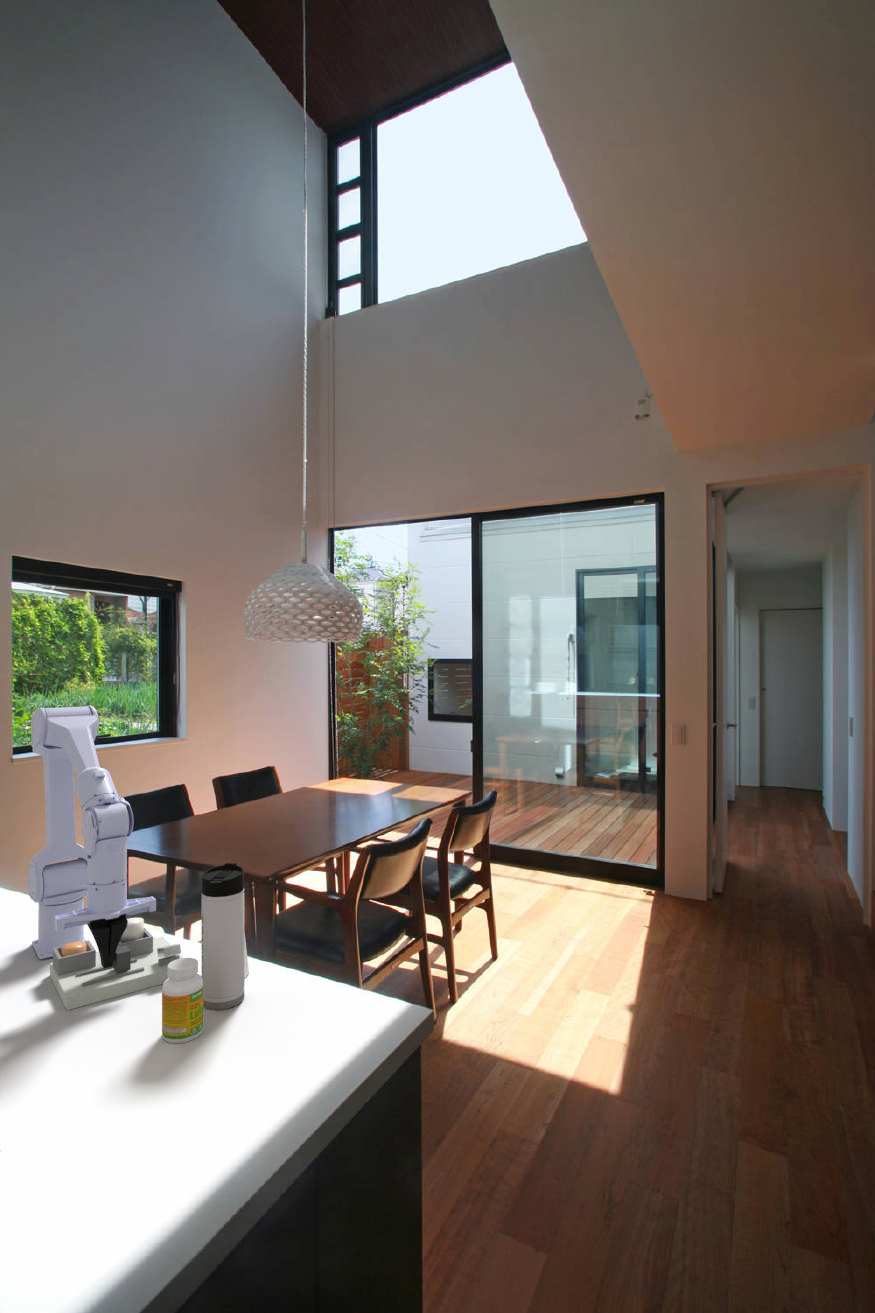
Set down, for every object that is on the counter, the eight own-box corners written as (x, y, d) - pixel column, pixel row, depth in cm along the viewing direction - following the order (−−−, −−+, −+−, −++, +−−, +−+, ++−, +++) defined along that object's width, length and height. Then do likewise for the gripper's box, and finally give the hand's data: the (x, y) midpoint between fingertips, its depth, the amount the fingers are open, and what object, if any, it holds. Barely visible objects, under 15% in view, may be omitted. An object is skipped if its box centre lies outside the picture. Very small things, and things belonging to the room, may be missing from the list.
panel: (49, 975, 113) (49, 947, 113) (162, 947, 124) (162, 922, 124) (66, 1010, 101) (66, 979, 101) (189, 976, 112) (189, 948, 112)
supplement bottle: (194, 1044, 92) (194, 972, 92) (155, 1044, 92) (155, 972, 92) (209, 1024, 97) (209, 955, 97) (171, 1023, 97) (171, 955, 97)
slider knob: (112, 967, 111) (113, 948, 111) (126, 964, 112) (126, 945, 112) (117, 973, 108) (117, 954, 108) (130, 969, 110) (130, 951, 110)
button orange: (59, 963, 112) (59, 945, 112) (84, 957, 115) (84, 939, 115) (63, 971, 110) (63, 952, 110) (88, 964, 112) (88, 946, 112)
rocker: (157, 957, 113) (157, 948, 114) (173, 953, 115) (173, 944, 115) (164, 957, 110) (163, 948, 111) (181, 953, 112) (180, 944, 112)
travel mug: (251, 990, 107) (251, 862, 107) (234, 1011, 100) (234, 875, 101) (213, 989, 108) (213, 862, 108) (194, 1009, 101) (194, 874, 101)
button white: (118, 938, 118) (118, 920, 118) (140, 933, 120) (140, 916, 120) (123, 944, 115) (123, 927, 115) (146, 939, 117) (146, 922, 117)
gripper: (60, 895, 101) (60, 987, 101) (161, 876, 110) (161, 961, 110) (52, 884, 107) (52, 971, 107) (149, 867, 116) (149, 947, 116)
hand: (107, 965), depth 109 cm, fingers closed
